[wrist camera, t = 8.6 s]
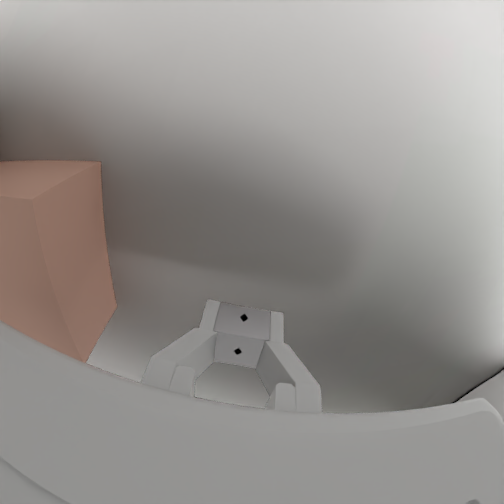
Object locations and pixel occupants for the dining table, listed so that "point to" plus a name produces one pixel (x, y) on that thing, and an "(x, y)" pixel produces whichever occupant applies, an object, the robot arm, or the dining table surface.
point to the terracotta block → (54, 253)
